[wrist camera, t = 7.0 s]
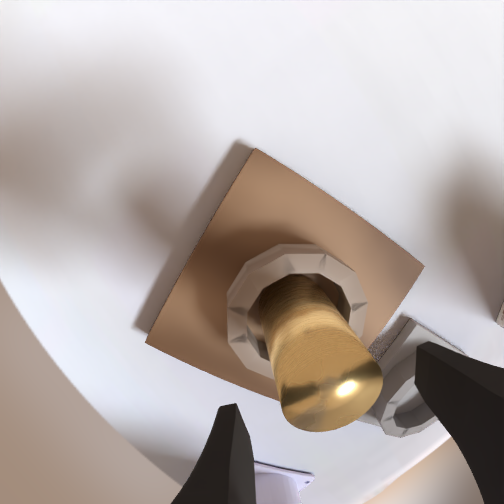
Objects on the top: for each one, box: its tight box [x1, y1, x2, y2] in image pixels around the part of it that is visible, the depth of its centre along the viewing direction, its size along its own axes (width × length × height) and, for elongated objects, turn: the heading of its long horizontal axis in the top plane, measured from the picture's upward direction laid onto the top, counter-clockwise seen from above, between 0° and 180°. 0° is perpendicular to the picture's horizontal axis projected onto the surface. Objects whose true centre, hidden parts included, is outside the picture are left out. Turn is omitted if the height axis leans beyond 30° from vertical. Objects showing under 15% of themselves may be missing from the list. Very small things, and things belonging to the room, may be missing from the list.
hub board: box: [145, 148, 425, 401], centre depth 18 cm, size 13×13×3 cm
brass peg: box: [258, 275, 383, 432], centre depth 14 cm, size 4×4×8 cm
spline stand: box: [357, 318, 469, 438], centre depth 21 cm, size 9×9×3 cm
